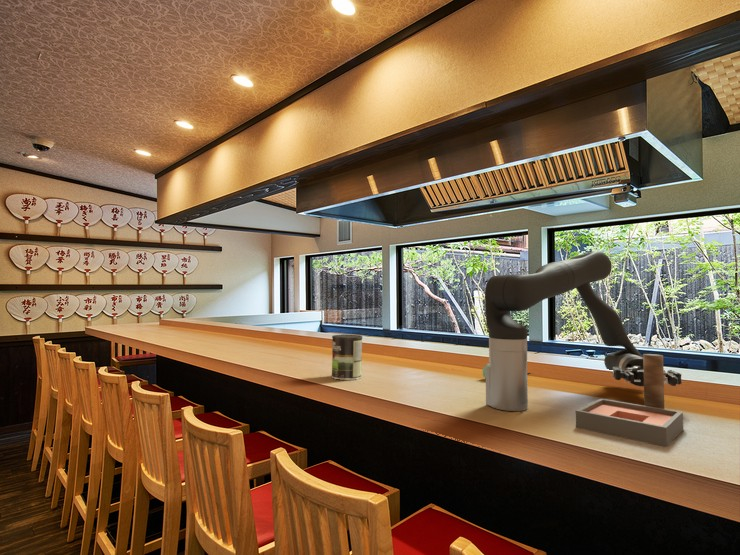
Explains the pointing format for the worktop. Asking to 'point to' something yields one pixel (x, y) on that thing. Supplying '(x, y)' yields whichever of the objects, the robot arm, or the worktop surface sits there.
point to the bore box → (631, 421)
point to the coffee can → (346, 357)
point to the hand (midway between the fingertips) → (653, 380)
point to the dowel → (653, 380)
